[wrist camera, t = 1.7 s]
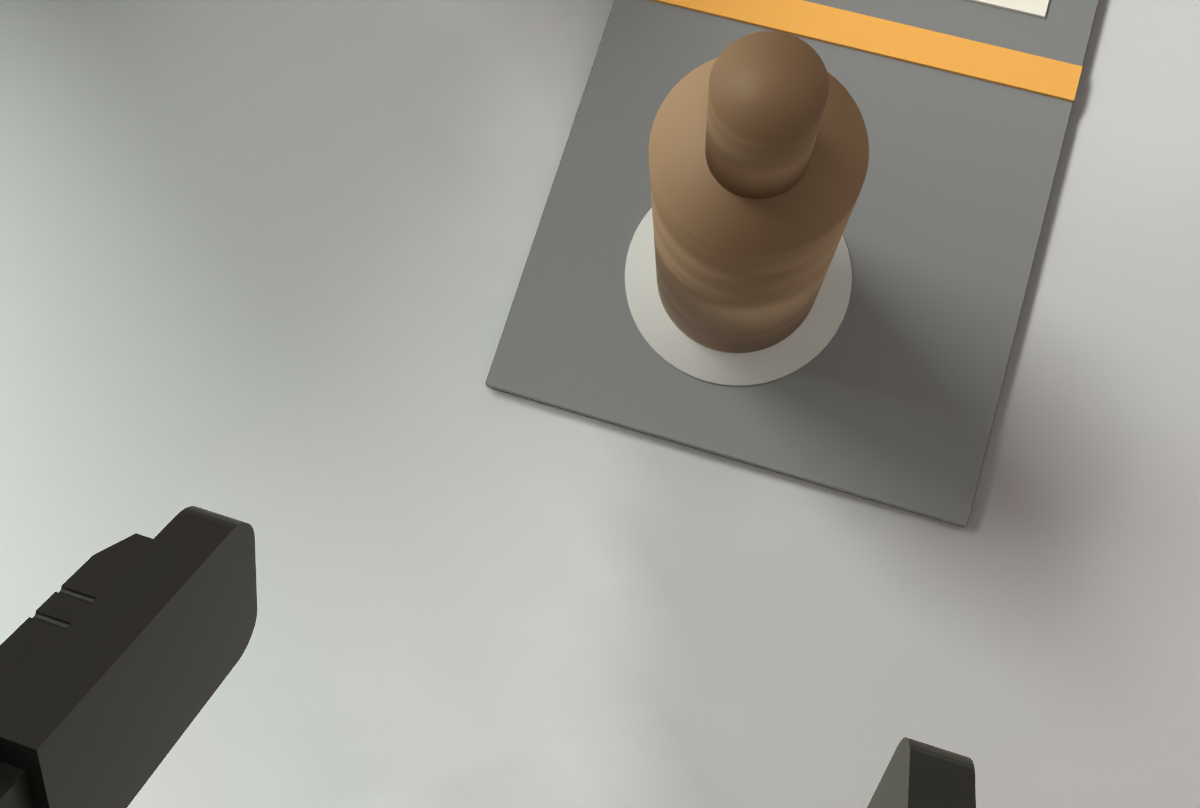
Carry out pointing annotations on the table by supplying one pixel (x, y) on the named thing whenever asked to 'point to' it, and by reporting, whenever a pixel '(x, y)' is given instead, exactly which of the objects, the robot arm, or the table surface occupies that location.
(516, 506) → the table surface
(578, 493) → the table surface
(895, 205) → the lane mat
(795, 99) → the walnut skittle
